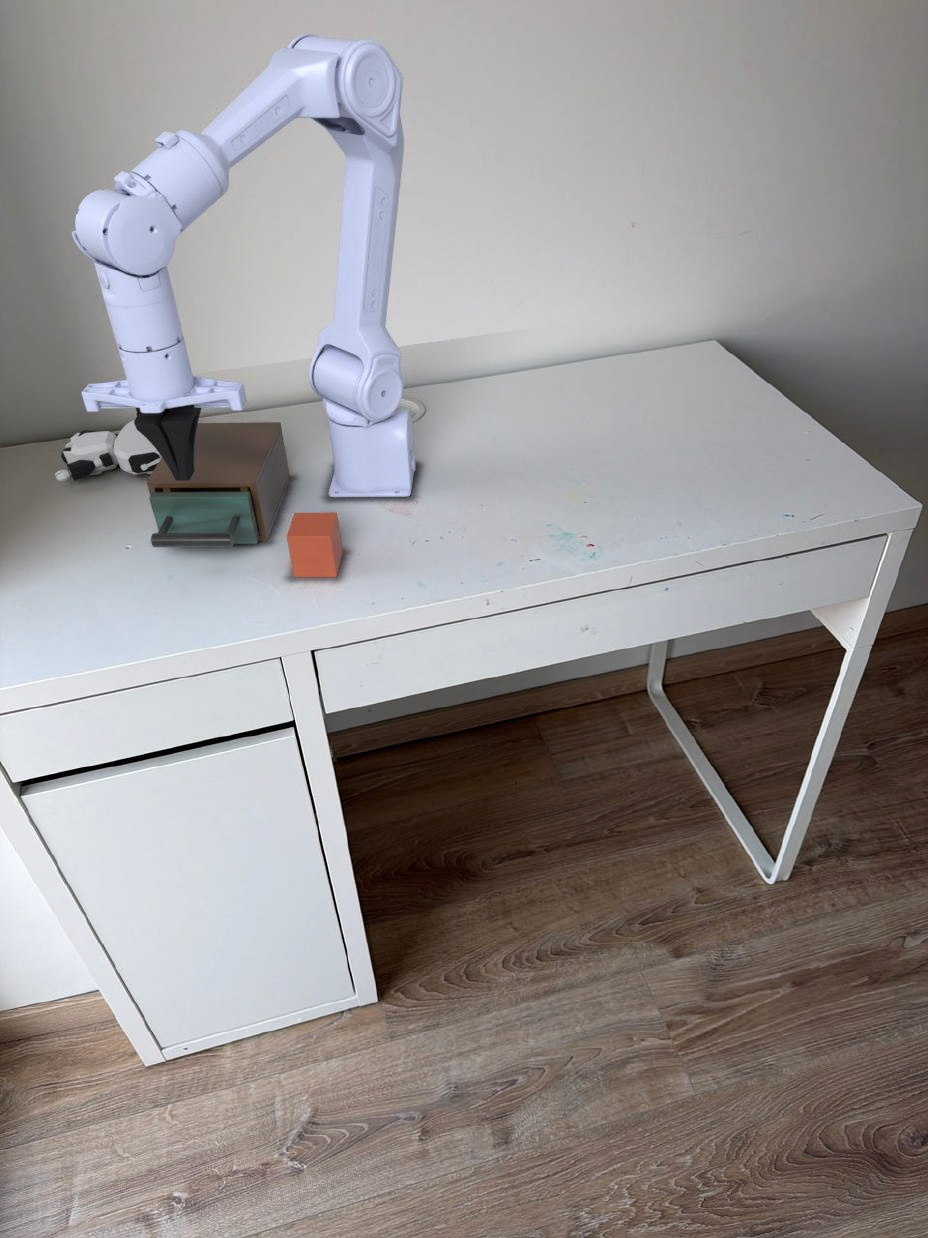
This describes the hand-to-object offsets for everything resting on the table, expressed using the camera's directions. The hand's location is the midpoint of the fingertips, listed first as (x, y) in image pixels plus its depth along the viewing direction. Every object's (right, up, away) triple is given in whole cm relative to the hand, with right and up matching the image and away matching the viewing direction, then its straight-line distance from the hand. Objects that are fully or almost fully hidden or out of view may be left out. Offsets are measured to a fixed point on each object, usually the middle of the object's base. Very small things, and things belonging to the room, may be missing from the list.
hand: (185, 475), depth 86 cm
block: (+12, -8, +5) cm, 16 cm away
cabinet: (+1, -1, +14) cm, 14 cm away
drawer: (0, -4, +10) cm, 11 cm away
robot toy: (-14, +5, +23) cm, 27 cm away
